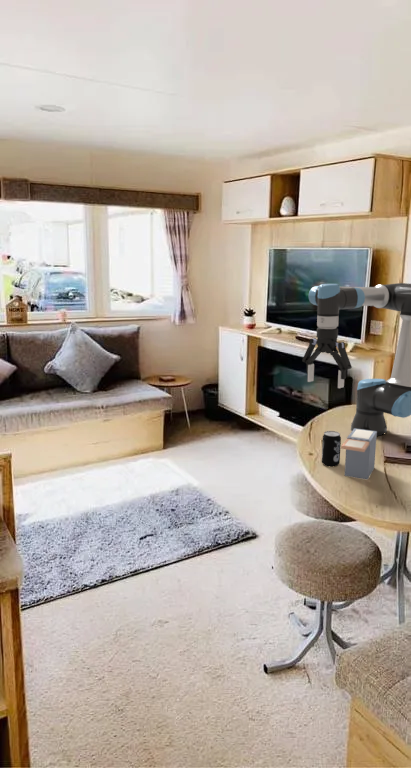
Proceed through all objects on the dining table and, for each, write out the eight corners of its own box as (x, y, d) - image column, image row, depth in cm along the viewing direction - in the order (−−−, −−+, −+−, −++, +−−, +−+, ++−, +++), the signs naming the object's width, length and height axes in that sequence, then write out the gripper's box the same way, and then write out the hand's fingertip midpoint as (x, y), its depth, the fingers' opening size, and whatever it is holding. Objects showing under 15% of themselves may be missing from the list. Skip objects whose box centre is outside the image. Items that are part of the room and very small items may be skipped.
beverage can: (329, 468, 203) (330, 437, 200) (317, 462, 209) (319, 432, 206) (343, 465, 206) (345, 434, 203) (331, 459, 212) (333, 429, 209)
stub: (346, 441, 193) (346, 438, 192) (369, 444, 189) (369, 441, 189) (341, 448, 186) (341, 445, 186) (364, 452, 182) (364, 448, 182)
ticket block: (352, 464, 207) (354, 428, 203) (374, 467, 203) (376, 431, 200) (344, 475, 196) (346, 437, 193) (367, 479, 193) (370, 441, 190)
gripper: (293, 325, 208) (292, 380, 213) (351, 332, 190) (348, 392, 195) (306, 323, 213) (304, 377, 218) (363, 329, 194) (360, 388, 200)
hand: (325, 384), depth 206 cm, fingers open, 13 cm apart
